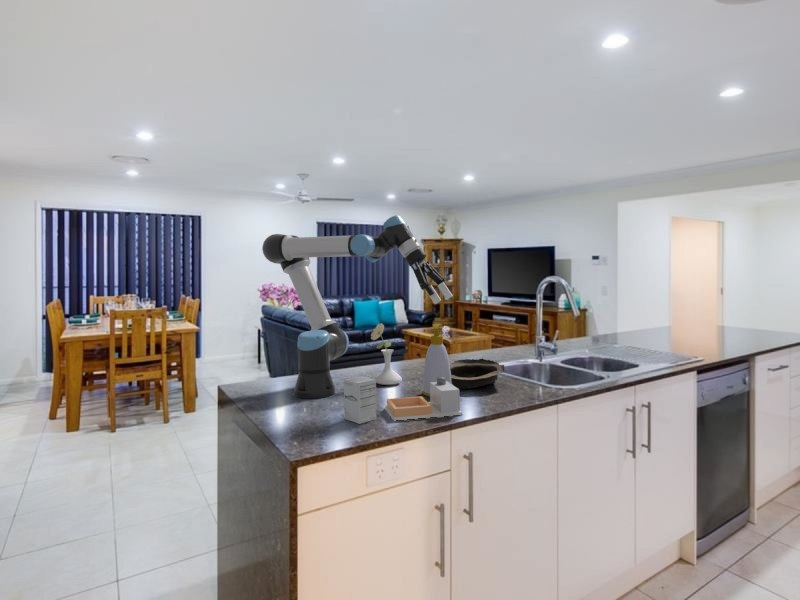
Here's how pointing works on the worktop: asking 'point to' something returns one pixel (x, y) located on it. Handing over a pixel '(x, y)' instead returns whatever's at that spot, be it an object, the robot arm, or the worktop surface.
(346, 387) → the supplement box
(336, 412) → the worktop surface
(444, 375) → the soap bottle
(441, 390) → the tan white boxy piece
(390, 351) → the flower in vase
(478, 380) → the stone bowl
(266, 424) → the worktop surface
